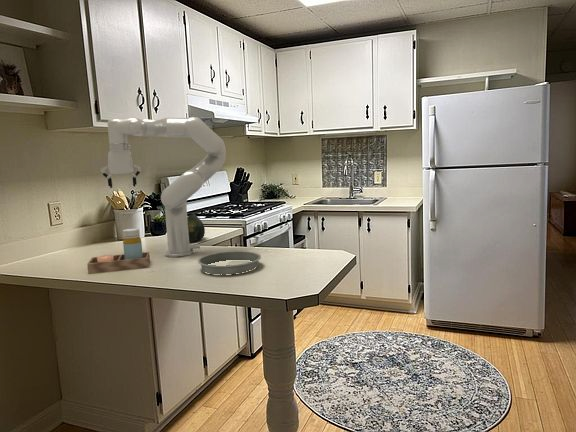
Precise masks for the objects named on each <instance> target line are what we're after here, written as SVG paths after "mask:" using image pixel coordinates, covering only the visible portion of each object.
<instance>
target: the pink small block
mask: <svg viewBox="0 0 576 432" xmlns="http://www.w3.org/2000/svg"><path fill="white" fill-rule="evenodd" d="M96 257H97V261H98V262H107V261H114V259H113V255H112V254H104V255H99V256H96Z"/></svg>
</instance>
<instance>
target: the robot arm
mask: <svg viewBox="0 0 576 432" xmlns="http://www.w3.org/2000/svg"><path fill="white" fill-rule="evenodd" d="M107 132H108V134H107V135H108V143H109V151H108V155H107V156H108V157H107V158H108V159H107V160H108V161H107V164H106V165H105V166H104V167H101V168H100V169H99V171H100V172H101V174H102V176H104V178H106V179H107V184H108V187H109V188H110V189H112V188H113V180H112V179H113V178H112V176H113V175H124V174H125V175H126V174H130V175H131V176H132V185H133V186H132V187H134V188H135V187H136V185H137V183H138V182H137V177H138V176H139V174H140V173H141V171H142V166H140V165H137V164H135V163H134V162H133V156H132V151H131V150H129V149H132V147H133V145H132V144H129V142H128V136H135V137H163V138H191V139H192V140H193V141H194V142H195V143H196V144H197V145H199V146H200V147H201V148H202V149H203V150H204V151H205V152H206V153H207V154H206V156H204V157H203V159H201V160H200V161H199V162H198V163H197V164H196V165H195V166H193V167H191V168H190V169H189V170H186V171H185V172H183V173H182V174H181V175H180V176H179V177H177V178H176V179H175V180H174V181H172V183H170V184H169V185H168V186H166V188H164V189H163V190H162V192H161V194H160V200H161V203H162V205H163V206H164V209H165V210H164V212H165V226H166V237H167V248H168V249H167V251H165V256H166V257H169V258H170V257H171V258H176V257H177V258H178V257H187V256H190V255H192V254H194V250H198V249H200V248H201V246H200V245H201V244H196V243H195V244H191V242H189V233H188V221H187V216H188V210H187V207H188V206H187V201H188V200H189V199H190V198H191V197H192V196H194V194H196V193H197V192H198V191H199V190H200V189H201V188H202V187H203V185H204V184H205V183H206V182H208V180H210V179H211V178H212V177H214V175H216V173H218V172H219V171H220V170H221V168H222V167H223V166H224V163H225V161H226V158H227V151H226V144H225V142H224V140H223V139H222V138H221V137H220V136H219V135H218V134H217V133H215V131H214V130H212V129H211V128H210V127H209V126H208V125H207V124H206V123H205V122H204V121H203V120H202V119H201V118H199V117H197V116H191V117H163V118H161V119H159V118H158V119H140V118H136V117H129V118H122V119H121V118H111V119H108V120H107ZM134 168H135V169H137V171H136V172H134ZM107 169H108V174H107V173H106V171H105V170H107Z"/></svg>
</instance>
